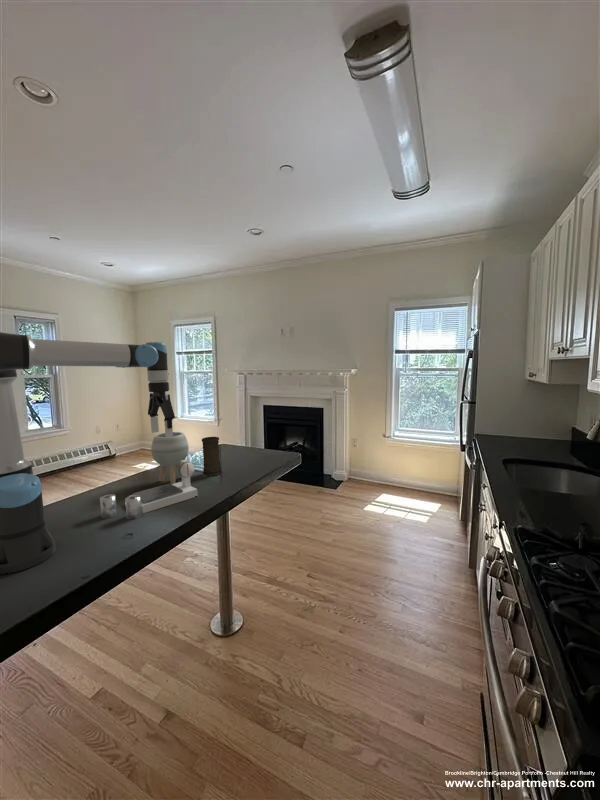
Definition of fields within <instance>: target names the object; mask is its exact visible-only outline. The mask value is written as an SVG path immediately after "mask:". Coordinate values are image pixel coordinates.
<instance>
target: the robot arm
mask: <svg viewBox="0 0 600 800" xmlns="http://www.w3.org/2000/svg"><path fill="white" fill-rule="evenodd" d="M33 367H115V368H124V369H125V368H147V369H146V371H147V381H148V384H147V385H148V392H149V401H148V402H149V403H148V410H147V415H148V416H149V417H150V428H151V429H150V431H151V433H159V432H160V431H159V430H160V429H159V418H158V417H159V414H158V411H159V409H161V411H162V415H163V416H164V419H163V422H164V433H165V437H171V436H173V432H174V431H173V429H174V428H173V419H175V418H176V416H175V412H174V409H173V406H172V401H171V396H170V394H166V392H168V391H170V383H169V375H170V373H169V369H168V351H167V345H166V343H164V342H161V341H149V342H146V343H145V344H144V343H142V344H130V343H129V344H127V343H114V342H113V343H111V342H110V343H108V342H96V341H95V342H93V341H91V342H90V341H74V340H58V339H57V340H56V339H55V340H54V339H40V338H39V339H38V338H36V339H35V338H32V337H31V336H29V335H27V334H18V333H17V334H15V333H10V332H9V333H8V332H2V331H0V575H7V574H6V573H8V574H13V572H14V573H17V571H18V572H21V571H24V570H27V568H28V569H30V568H33V567H34V566H35V567H36V566H37V565H39V564H41V563H43V562H45V561H47V560H48V559H49V558H51V557H52V556H53V555H54V554H55V552H56V542H55V540H54V537H52V535H51V533H50V531H49V530H48V528H47V526H46V521H45V519H46V518H45V517H46V516H45V511H44V501H43V500H44V499H43V492H42V489H43V485H42V483H41V479H40V477H39V476H37V475H36V474H34V471H33V465H32V462H31V461H28V460H27V459H26V458H25V453H24V449H23V448H24V447H23V444H22V443H23V442H22V435H21V431H20V425H19V420H18V419H19V418H18V414H17V407H16V400H15V395H14V388H13V383H14V382H15V380H17V378H18V375H17V370H31V369H32V368H33Z"/></svg>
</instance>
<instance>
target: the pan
mask: <svg viewBox="0 0 600 800" xmlns="http://www.w3.org/2000/svg"><path fill="white" fill-rule="evenodd" d="M182 492H183V490H181V489H179V488H178V487H176V486H174V485H172V484H171V482H169V483H165V484H163V485H159V486H155V487H151V488H148V489H144V490H140V491H136V492H133V493H132V495H140V497H141V501H142V502H143V503H144V504H145V503H148V502H151V501H155V500H158V499H162V498H165V497H168V496H172V495H175V494H178V493H182Z"/></svg>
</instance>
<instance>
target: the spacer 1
mask: <svg viewBox="0 0 600 800" xmlns="http://www.w3.org/2000/svg"><path fill="white" fill-rule="evenodd" d="M116 497H117V496H116V494H115V493H111V494H105V495H101V496H100V497H99V503H100V505H99V506H100V515H101V516H100V517H101V518H102V519H110V518H113V517H115V516H118V509H117V499H116Z"/></svg>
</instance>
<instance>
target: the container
mask: <svg viewBox="0 0 600 800" xmlns="http://www.w3.org/2000/svg"><path fill="white" fill-rule="evenodd" d="M219 440H220V438H219V437H218V436H207V437H202V438H201V442H202V453H203V454H202V456H203V469H202V471H203V472H202V474H204V475H203V476H205V475H206V476H205V477H213V476H212V475H217V474H219V475H221V474H222V466H221V461H220V445H219ZM220 473H221V474H220ZM217 476H218V475H217Z"/></svg>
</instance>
